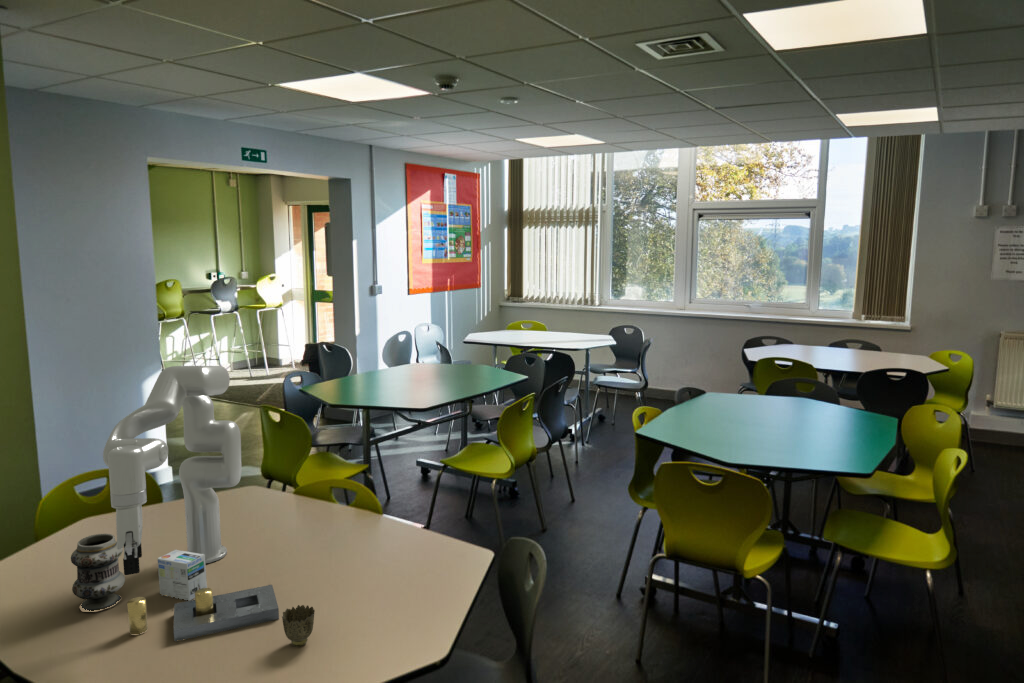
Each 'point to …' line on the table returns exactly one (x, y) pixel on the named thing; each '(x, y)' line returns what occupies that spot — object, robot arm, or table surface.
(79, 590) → the apothecary jar
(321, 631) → the table surface
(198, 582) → the light bulb box
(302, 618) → the cup
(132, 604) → the brass cylinder
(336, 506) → the table surface
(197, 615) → the seated bushing
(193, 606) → the jig
